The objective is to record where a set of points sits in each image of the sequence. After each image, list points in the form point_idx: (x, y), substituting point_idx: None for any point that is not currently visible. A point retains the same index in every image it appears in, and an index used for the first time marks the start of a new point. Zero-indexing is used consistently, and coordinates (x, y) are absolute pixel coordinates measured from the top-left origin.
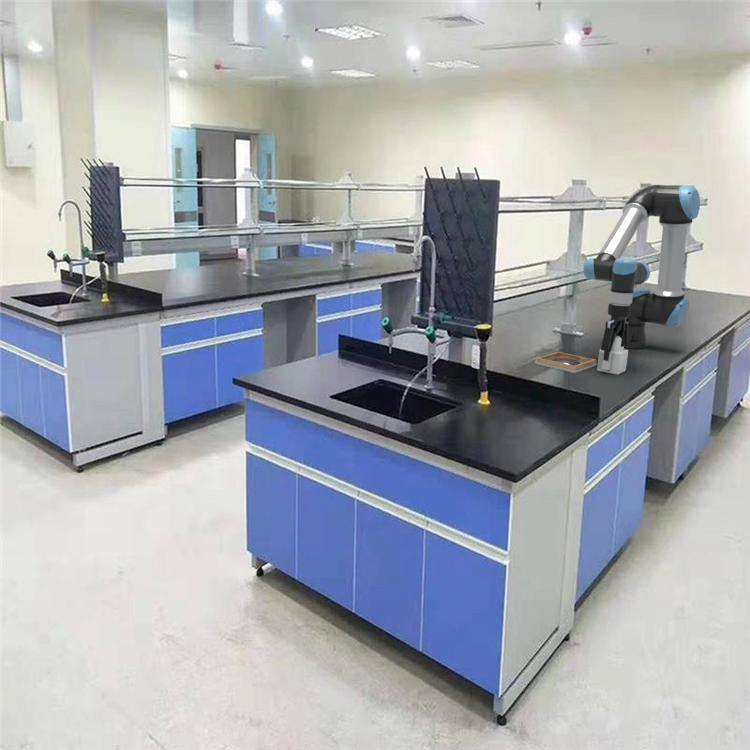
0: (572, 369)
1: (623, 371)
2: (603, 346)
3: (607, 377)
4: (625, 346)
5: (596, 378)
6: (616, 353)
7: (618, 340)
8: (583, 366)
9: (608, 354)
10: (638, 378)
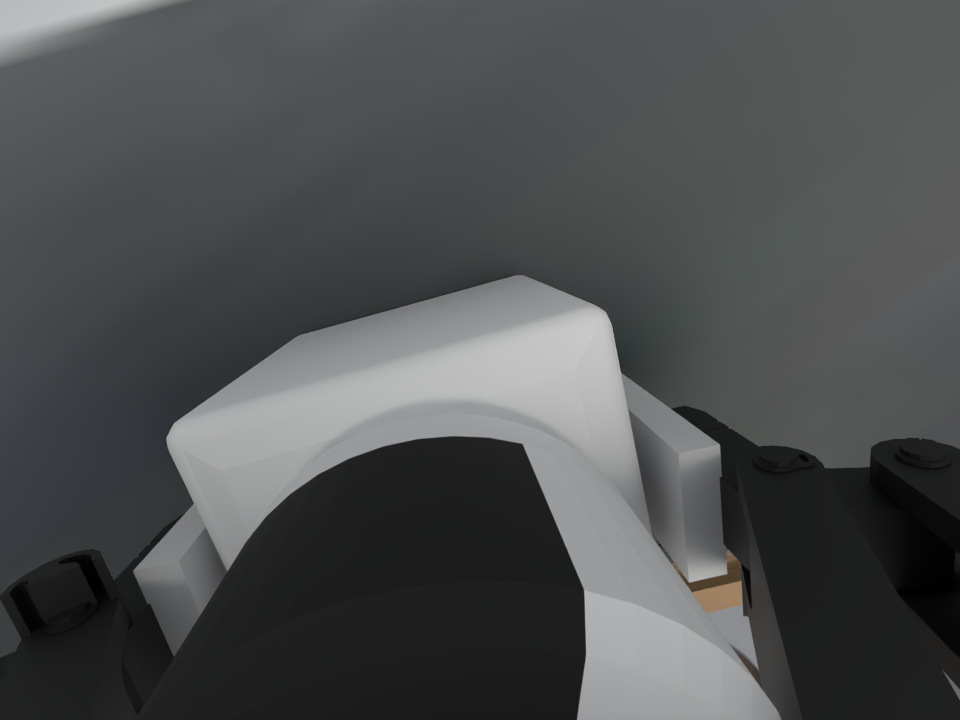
0: None
1: (364, 317)
2: (937, 595)
3: (707, 264)
4: (85, 580)
5: (831, 296)
6: (622, 382)
7: (676, 604)
8: (678, 572)
9: (721, 448)
10: (435, 41)
